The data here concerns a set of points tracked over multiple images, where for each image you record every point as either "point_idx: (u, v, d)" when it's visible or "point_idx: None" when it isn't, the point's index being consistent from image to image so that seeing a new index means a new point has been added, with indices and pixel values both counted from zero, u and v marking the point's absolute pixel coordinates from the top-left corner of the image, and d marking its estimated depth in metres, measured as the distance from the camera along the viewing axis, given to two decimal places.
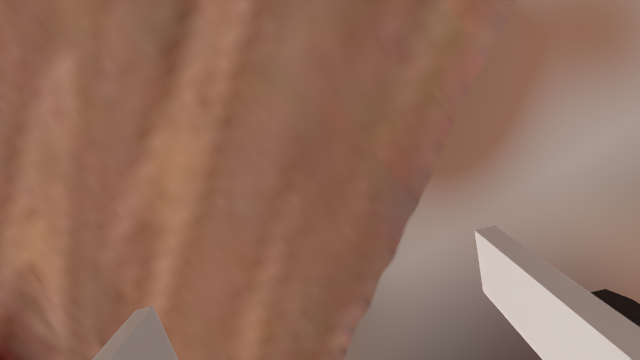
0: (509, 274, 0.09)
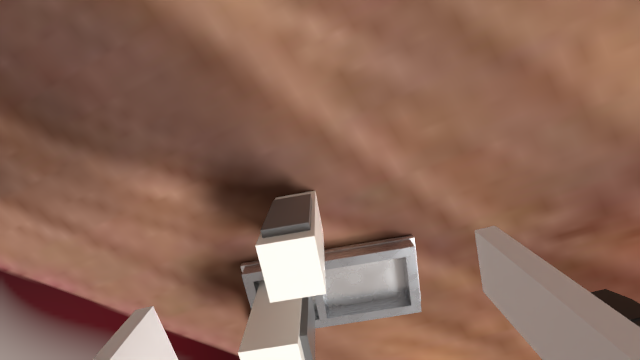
0: (509, 274, 0.09)
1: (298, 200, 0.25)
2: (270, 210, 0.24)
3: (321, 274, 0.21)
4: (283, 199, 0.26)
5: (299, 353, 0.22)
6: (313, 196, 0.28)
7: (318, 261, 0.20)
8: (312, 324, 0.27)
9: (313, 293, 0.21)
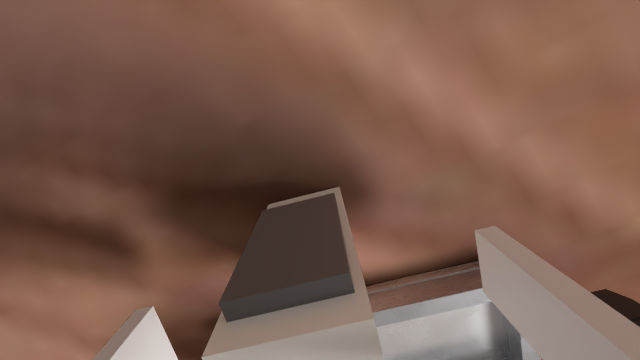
0: (509, 274, 0.09)
1: (311, 208, 0.12)
2: (253, 235, 0.11)
3: None
4: (281, 208, 0.13)
5: None
6: (338, 196, 0.15)
7: None
8: None
9: None
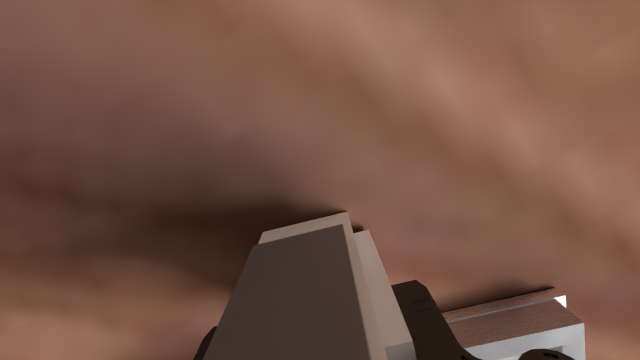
0: None
1: (314, 247, 0.10)
2: (238, 287, 0.09)
3: None
4: (277, 243, 0.11)
5: None
6: (346, 226, 0.12)
7: None
8: None
9: None
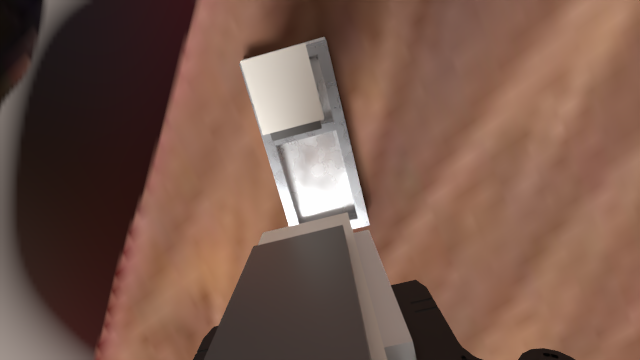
0: None
1: (315, 248, 0.10)
2: (238, 289, 0.09)
3: None
4: (277, 244, 0.11)
5: (309, 121, 0.19)
6: (346, 227, 0.12)
7: None
8: None
9: None
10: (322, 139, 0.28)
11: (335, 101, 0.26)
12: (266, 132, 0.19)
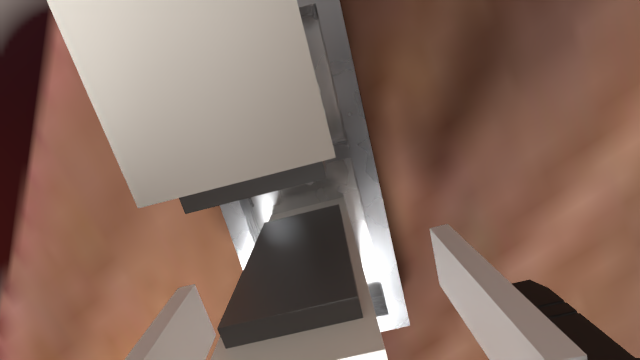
0: (452, 267, 0.10)
1: (315, 221, 0.12)
2: (255, 250, 0.11)
3: None
4: (284, 220, 0.13)
5: (287, 166, 0.06)
6: (342, 208, 0.14)
7: None
8: None
9: None
10: None
11: (351, 101, 0.13)
12: (148, 199, 0.06)
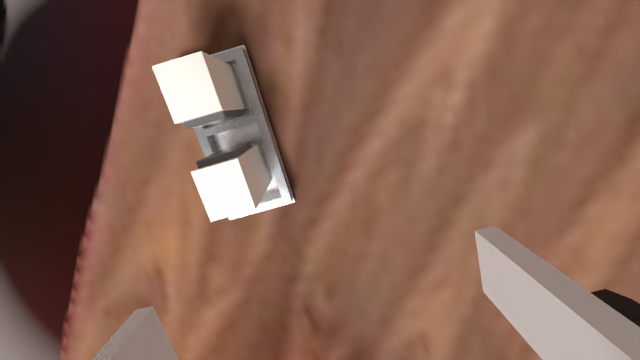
0: (508, 274, 0.09)
1: (237, 145, 0.30)
2: (212, 154, 0.29)
3: (249, 192, 0.25)
4: (227, 148, 0.31)
5: (210, 112, 0.24)
6: (255, 145, 0.32)
7: (244, 180, 0.24)
8: (214, 122, 0.28)
9: (244, 209, 0.25)
10: (249, 130, 0.33)
11: (254, 98, 0.31)
12: (177, 121, 0.24)
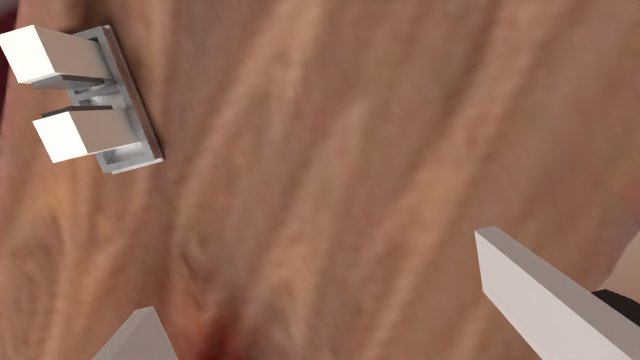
0: (508, 274, 0.09)
1: None
2: None
3: (81, 139, 0.31)
4: None
5: (46, 74, 0.30)
6: (119, 109, 0.39)
7: (75, 129, 0.31)
8: (71, 86, 0.35)
9: (79, 153, 0.32)
10: (119, 98, 0.40)
11: (114, 69, 0.37)
12: (20, 80, 0.30)
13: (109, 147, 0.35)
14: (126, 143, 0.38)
